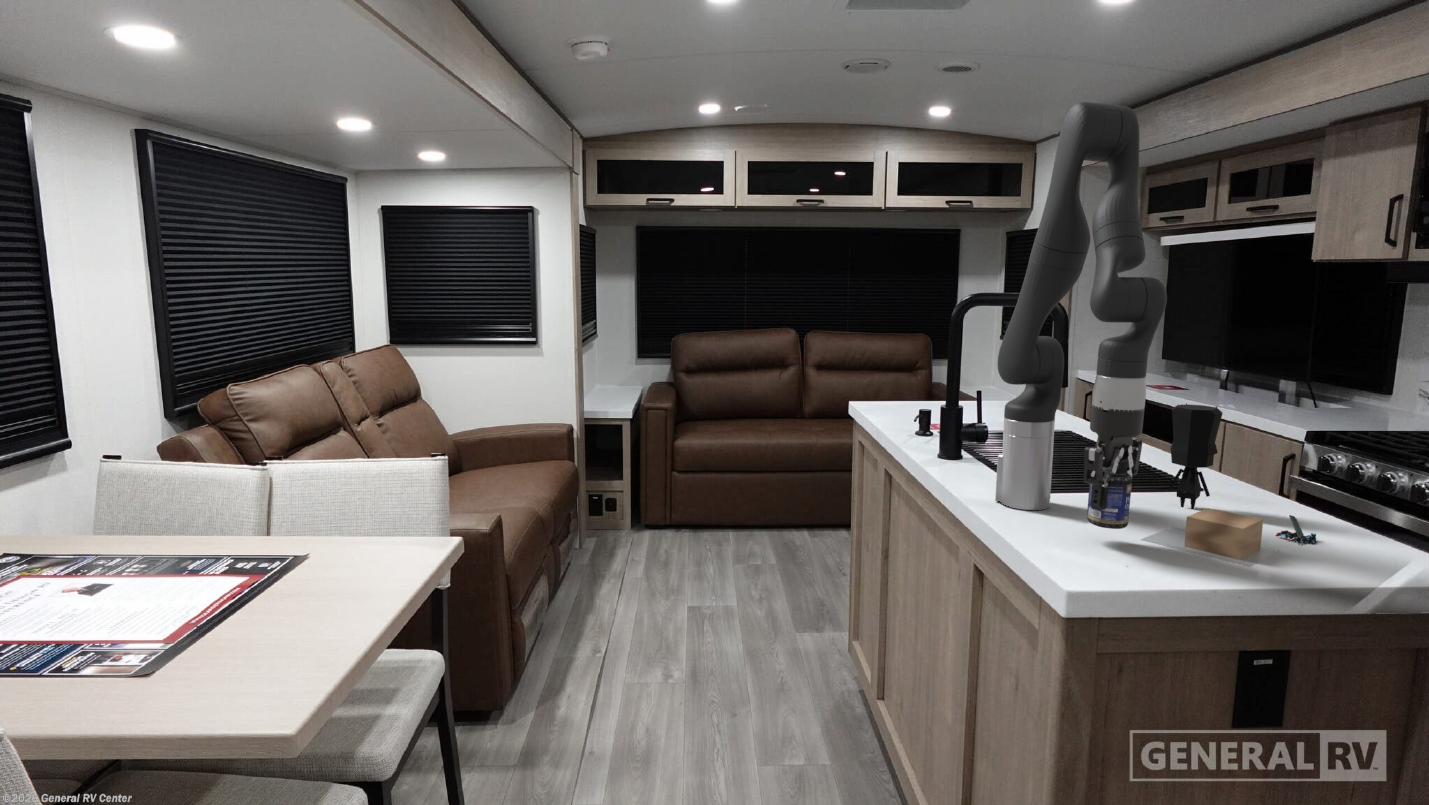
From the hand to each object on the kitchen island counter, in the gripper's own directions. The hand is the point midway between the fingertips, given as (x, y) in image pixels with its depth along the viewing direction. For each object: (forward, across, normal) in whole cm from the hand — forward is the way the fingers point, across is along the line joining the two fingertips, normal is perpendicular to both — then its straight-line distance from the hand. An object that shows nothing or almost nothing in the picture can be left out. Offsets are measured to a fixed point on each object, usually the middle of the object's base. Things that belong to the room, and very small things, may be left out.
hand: (1108, 504), depth 129 cm
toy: (+8, -36, -3) cm, 37 cm away
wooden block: (+6, -12, +13) cm, 19 cm away
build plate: (+8, -12, +11) cm, 18 cm away
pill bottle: (+3, 0, 0) cm, 3 cm away
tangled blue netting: (+8, -27, +18) cm, 33 cm away
